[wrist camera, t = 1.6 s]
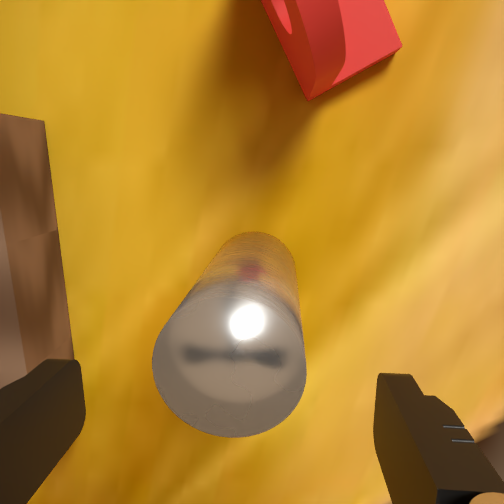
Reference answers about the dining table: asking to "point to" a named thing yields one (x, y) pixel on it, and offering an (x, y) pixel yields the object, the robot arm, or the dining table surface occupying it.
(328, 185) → the dining table surface
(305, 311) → the dining table surface
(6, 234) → the socket block
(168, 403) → the peg
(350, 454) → the dining table surface
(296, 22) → the bracket
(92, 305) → the dining table surface
